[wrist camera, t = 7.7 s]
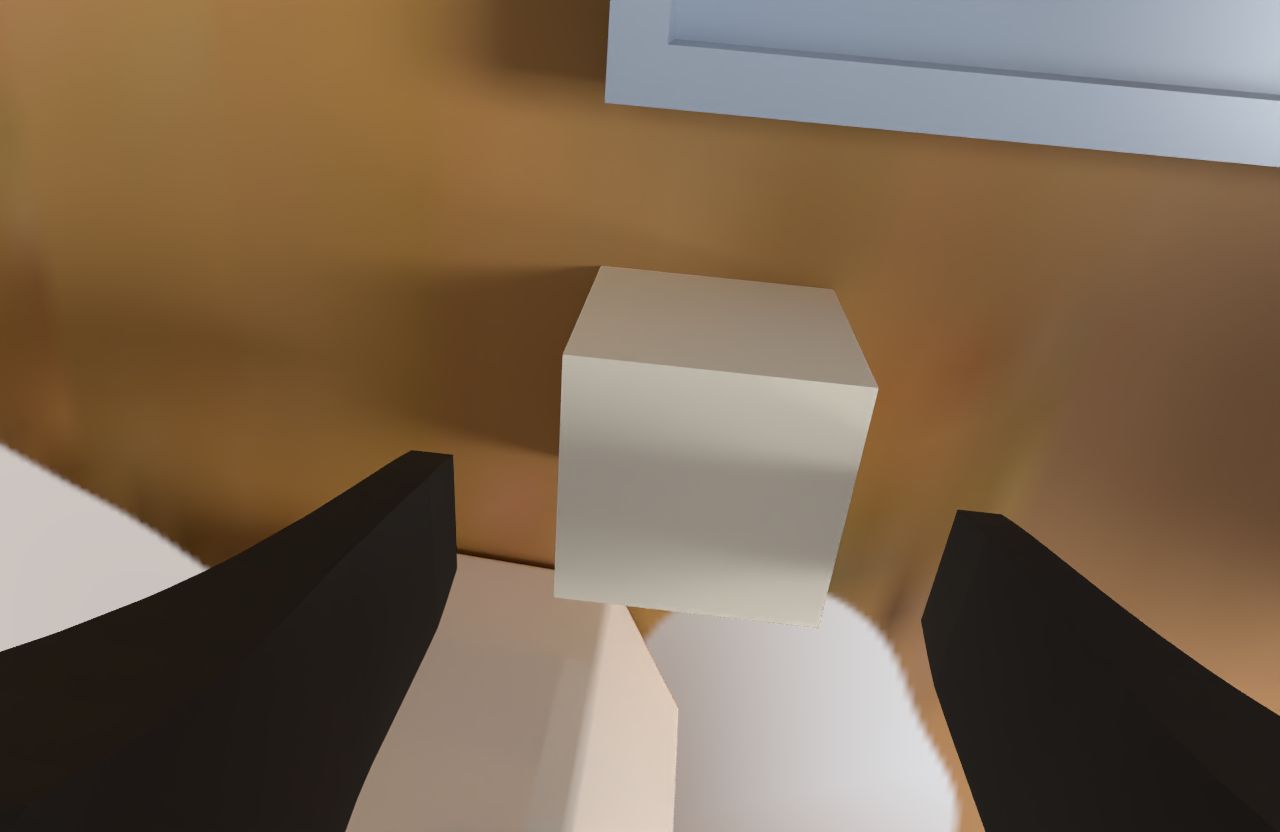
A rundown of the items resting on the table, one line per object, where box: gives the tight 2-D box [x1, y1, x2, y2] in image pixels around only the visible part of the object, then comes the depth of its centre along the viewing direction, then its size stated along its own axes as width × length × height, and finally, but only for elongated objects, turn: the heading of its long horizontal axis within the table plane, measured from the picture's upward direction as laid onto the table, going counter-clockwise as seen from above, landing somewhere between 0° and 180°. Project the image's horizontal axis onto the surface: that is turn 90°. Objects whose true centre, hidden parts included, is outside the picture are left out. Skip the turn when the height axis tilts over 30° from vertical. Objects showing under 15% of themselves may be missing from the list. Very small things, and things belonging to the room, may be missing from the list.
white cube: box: [554, 265, 879, 628], centre depth 14 cm, size 4×4×4 cm
